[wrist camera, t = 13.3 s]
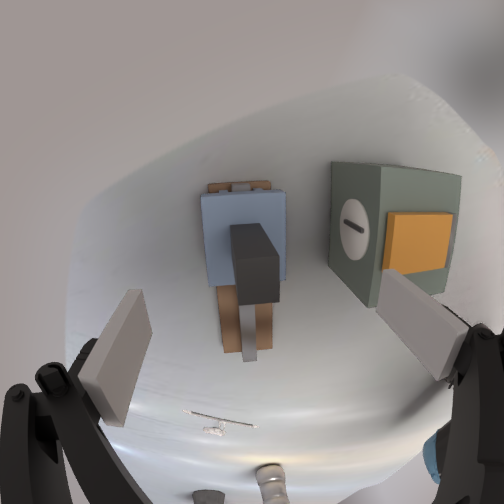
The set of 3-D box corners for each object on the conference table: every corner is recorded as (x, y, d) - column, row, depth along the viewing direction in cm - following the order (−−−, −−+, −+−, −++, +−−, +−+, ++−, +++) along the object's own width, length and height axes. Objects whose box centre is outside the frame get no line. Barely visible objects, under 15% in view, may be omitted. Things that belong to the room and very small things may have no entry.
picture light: (260, 424, 41) (261, 433, 39) (249, 435, 42) (250, 444, 40) (183, 407, 38) (182, 417, 36) (175, 419, 39) (175, 429, 37)
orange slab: (443, 262, 22) (450, 267, 21) (380, 271, 21) (388, 277, 20) (450, 212, 20) (459, 215, 19) (387, 212, 19) (395, 215, 18)
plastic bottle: (248, 471, 48) (260, 542, 29) (266, 460, 46) (282, 536, 27) (270, 474, 49) (284, 540, 31) (288, 463, 48) (307, 533, 29)
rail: (270, 341, 34) (275, 358, 31) (223, 345, 34) (224, 363, 30) (267, 180, 28) (274, 183, 24) (208, 183, 27) (207, 187, 24)
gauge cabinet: (395, 258, 33) (443, 292, 23) (323, 266, 32) (361, 309, 22) (403, 166, 29) (461, 175, 19) (326, 161, 28) (374, 166, 18)
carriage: (277, 264, 29) (311, 330, 18) (209, 270, 28) (206, 341, 17) (276, 187, 26) (318, 210, 15) (203, 191, 25) (190, 218, 14)
